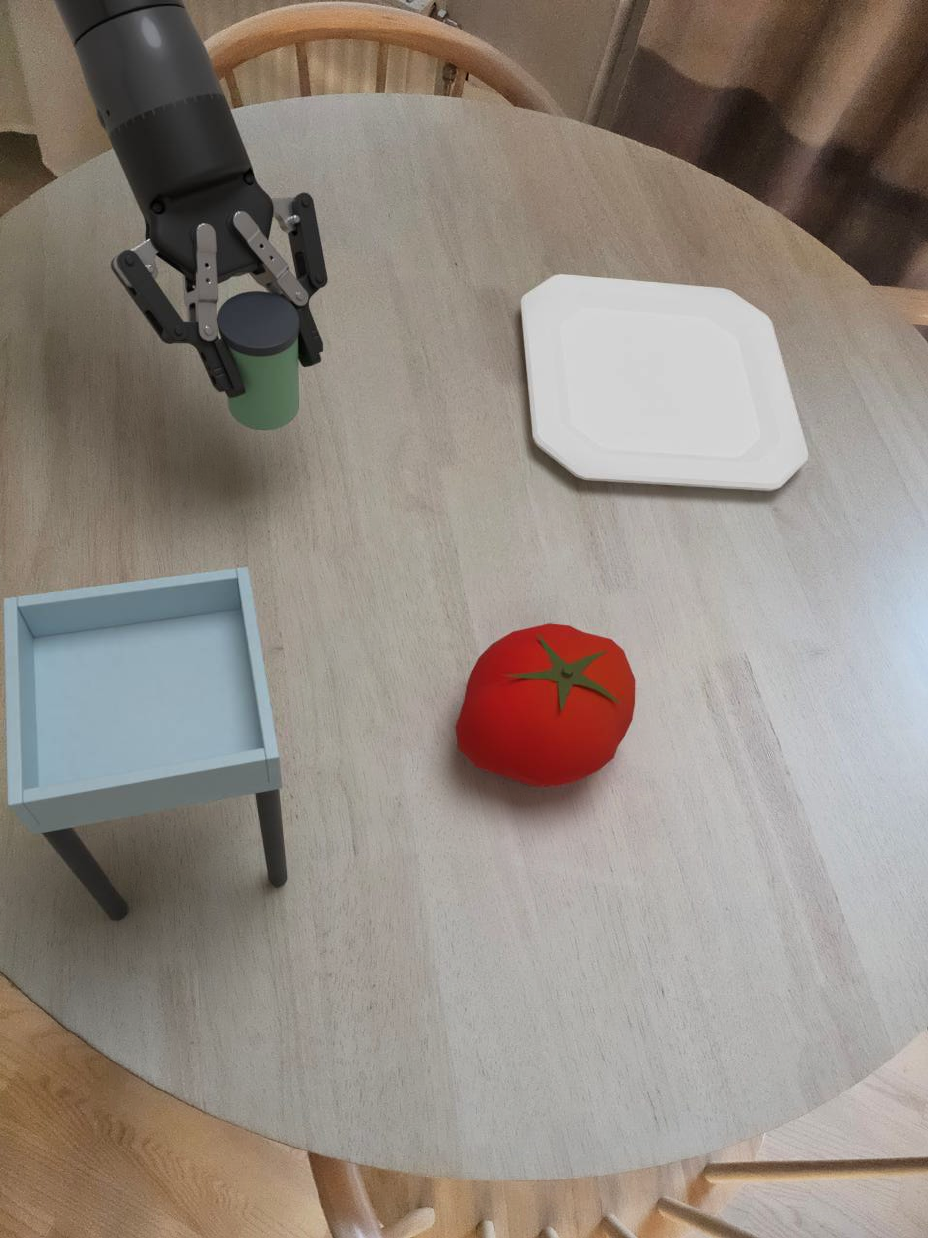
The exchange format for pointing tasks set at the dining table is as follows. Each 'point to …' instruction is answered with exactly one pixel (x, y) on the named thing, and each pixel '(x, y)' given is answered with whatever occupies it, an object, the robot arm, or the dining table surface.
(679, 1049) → the dining table surface
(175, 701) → the tray
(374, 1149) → the dining table surface
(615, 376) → the plate
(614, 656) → the tomato
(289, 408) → the plastic tub
